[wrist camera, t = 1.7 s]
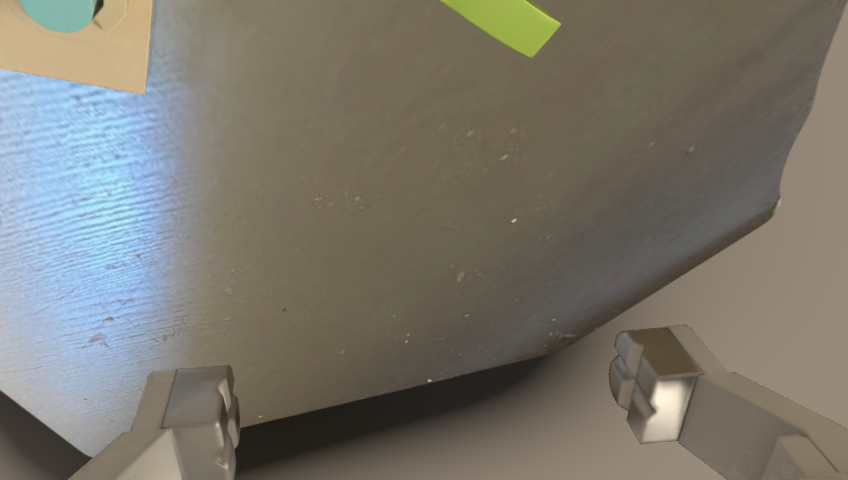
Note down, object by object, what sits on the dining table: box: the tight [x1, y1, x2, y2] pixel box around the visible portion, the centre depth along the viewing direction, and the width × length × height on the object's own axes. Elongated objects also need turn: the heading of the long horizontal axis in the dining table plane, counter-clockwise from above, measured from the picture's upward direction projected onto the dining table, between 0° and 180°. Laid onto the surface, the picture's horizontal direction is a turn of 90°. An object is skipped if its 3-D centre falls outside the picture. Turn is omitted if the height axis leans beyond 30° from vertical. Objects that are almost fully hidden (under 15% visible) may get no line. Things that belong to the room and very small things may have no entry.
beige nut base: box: [0, 0, 155, 95], centre depth 39 cm, size 11×9×5 cm
